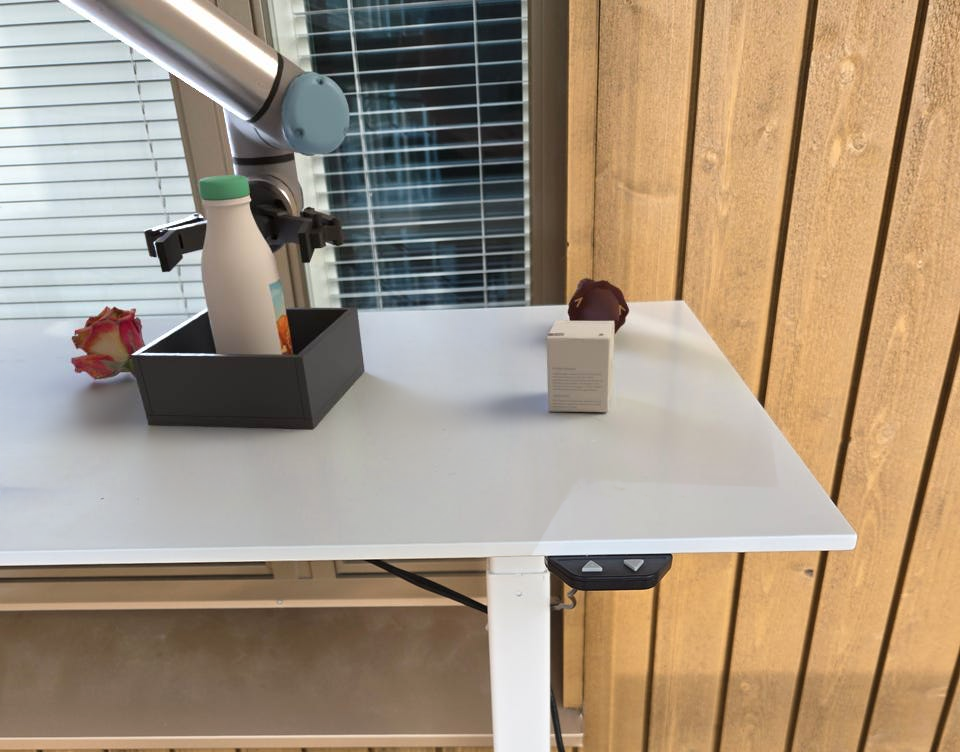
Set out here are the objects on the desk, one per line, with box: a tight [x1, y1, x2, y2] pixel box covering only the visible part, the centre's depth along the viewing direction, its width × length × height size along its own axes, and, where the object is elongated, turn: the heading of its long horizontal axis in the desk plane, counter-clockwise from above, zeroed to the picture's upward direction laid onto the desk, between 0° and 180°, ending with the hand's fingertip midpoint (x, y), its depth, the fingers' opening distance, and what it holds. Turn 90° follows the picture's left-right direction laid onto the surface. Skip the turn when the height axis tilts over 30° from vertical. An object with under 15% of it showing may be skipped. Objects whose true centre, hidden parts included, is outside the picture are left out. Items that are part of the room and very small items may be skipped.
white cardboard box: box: [545, 320, 615, 413], centre depth 87 cm, size 6×6×7 cm
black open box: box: [130, 307, 365, 430], centre depth 93 cm, size 18×18×7 cm
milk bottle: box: [197, 174, 293, 355], centre depth 89 cm, size 8×8×20 cm
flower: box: [70, 306, 146, 381], centre depth 100 cm, size 10×9×8 cm
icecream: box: [567, 277, 630, 336], centre depth 105 cm, size 7×7×15 cm
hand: (233, 252), depth 86 cm, fingers open, 13 cm apart
